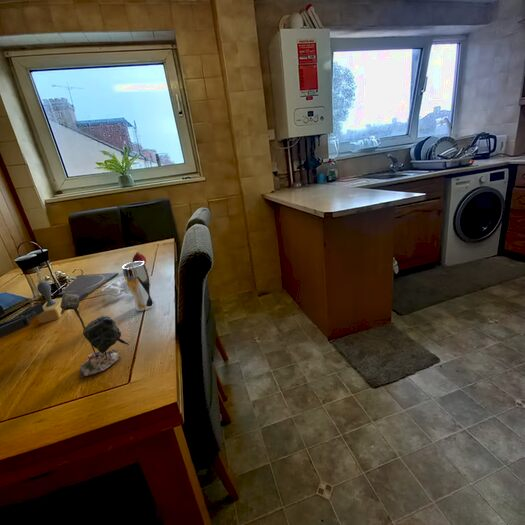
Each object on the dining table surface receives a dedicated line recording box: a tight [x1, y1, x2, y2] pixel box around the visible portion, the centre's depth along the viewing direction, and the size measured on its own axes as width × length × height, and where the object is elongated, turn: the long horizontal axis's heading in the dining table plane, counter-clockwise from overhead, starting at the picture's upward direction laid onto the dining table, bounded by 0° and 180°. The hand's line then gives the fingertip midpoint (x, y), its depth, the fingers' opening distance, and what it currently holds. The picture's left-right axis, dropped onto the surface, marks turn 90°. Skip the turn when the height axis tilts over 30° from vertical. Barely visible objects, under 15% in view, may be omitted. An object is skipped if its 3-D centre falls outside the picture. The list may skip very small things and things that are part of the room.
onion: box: [132, 251, 147, 265], centre depth 129 cm, size 6×6×8 cm
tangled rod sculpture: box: [100, 277, 132, 297], centre depth 110 cm, size 19×14×4 cm
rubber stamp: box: [36, 281, 63, 324], centre depth 93 cm, size 10×6×12 cm, turn 18°
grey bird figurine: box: [60, 294, 130, 378], centre depth 63 cm, size 8×11×20 cm
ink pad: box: [70, 292, 88, 302], centre depth 104 cm, size 7×5×2 cm
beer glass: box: [121, 261, 156, 312], centre depth 90 cm, size 7×7×15 cm
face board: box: [57, 272, 119, 297], centre depth 118 cm, size 20×20×1 cm
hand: (21, 308), depth 84 cm, fingers open, 13 cm apart
